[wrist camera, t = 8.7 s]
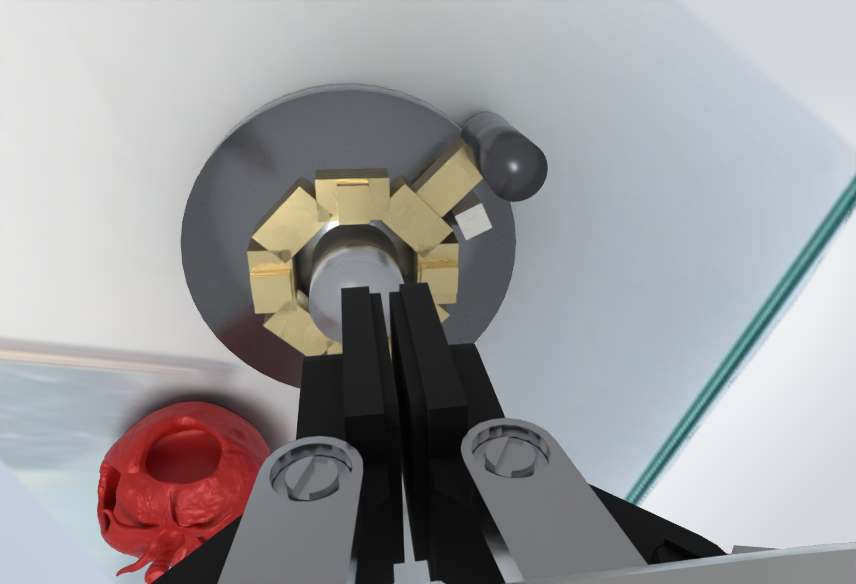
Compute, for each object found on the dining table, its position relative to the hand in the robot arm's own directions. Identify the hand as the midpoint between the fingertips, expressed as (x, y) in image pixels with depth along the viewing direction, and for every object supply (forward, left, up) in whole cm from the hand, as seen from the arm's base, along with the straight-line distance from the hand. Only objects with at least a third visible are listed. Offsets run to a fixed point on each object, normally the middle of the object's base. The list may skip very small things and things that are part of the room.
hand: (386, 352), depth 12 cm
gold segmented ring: (-5, 0, -18) cm, 18 cm away
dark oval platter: (-6, +2, -20) cm, 21 cm away
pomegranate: (-15, +16, -20) cm, 30 cm away
